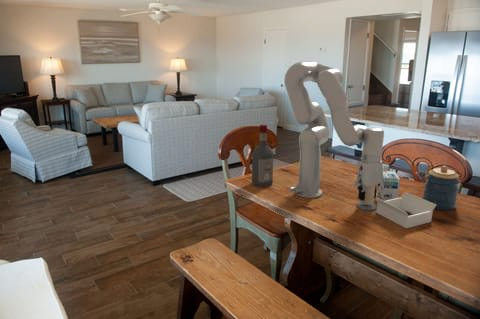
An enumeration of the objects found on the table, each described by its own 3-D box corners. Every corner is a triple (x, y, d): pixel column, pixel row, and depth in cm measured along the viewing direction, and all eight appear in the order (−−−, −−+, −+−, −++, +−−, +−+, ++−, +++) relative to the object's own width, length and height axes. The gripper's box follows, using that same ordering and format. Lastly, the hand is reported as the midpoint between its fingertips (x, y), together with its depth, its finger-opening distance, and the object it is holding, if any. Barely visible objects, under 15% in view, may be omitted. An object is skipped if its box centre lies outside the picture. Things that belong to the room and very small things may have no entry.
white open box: (402, 229, 136) (405, 211, 134) (373, 213, 149) (375, 197, 147) (433, 221, 142) (436, 204, 140) (402, 206, 156) (405, 191, 154)
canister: (416, 198, 164) (422, 161, 159) (445, 198, 164) (452, 161, 159) (430, 210, 152) (436, 170, 147) (461, 211, 151) (469, 170, 146)
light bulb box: (397, 201, 161) (400, 178, 158) (381, 200, 162) (384, 177, 159) (393, 192, 171) (395, 171, 168) (378, 191, 172) (380, 170, 169)
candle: (375, 202, 155) (378, 180, 152) (369, 206, 152) (372, 183, 149) (363, 198, 159) (365, 177, 156) (357, 202, 155) (359, 180, 152)
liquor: (275, 184, 182) (276, 125, 173) (260, 188, 177) (261, 127, 168) (264, 179, 189) (264, 122, 180) (249, 183, 184) (250, 124, 175)
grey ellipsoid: (365, 211, 151) (366, 210, 151) (352, 204, 158) (352, 203, 158) (380, 208, 154) (380, 206, 154) (367, 201, 161) (367, 200, 161)
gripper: (361, 162, 143) (357, 205, 148) (394, 157, 150) (388, 198, 155) (348, 157, 150) (344, 198, 155) (380, 153, 156) (375, 192, 161)
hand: (366, 198), depth 155 cm, fingers closed on candle, 5 cm apart
